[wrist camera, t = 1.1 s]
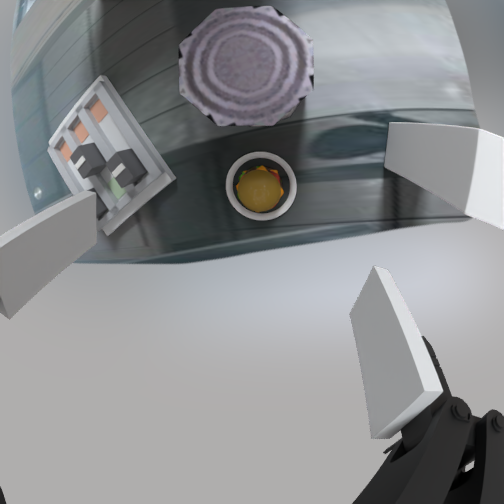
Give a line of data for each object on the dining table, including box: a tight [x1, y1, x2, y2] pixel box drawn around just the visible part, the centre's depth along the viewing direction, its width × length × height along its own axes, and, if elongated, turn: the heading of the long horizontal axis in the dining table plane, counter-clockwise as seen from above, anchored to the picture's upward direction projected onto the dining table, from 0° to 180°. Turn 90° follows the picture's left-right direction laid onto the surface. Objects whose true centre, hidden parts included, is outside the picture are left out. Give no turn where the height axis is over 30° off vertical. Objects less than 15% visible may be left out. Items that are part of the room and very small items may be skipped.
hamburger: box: [226, 152, 297, 220], centre depth 32 cm, size 12×12×6 cm
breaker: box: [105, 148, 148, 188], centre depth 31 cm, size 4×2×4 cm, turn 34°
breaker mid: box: [70, 143, 106, 179], centre depth 31 cm, size 4×2×4 cm, turn 33°
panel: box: [47, 75, 176, 236], centre depth 33 cm, size 20×15×3 cm
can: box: [179, 6, 314, 127], centre depth 23 cm, size 11×11×12 cm
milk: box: [384, 122, 504, 230], centre depth 19 cm, size 6×6×22 cm
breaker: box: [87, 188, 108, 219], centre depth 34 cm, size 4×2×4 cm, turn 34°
